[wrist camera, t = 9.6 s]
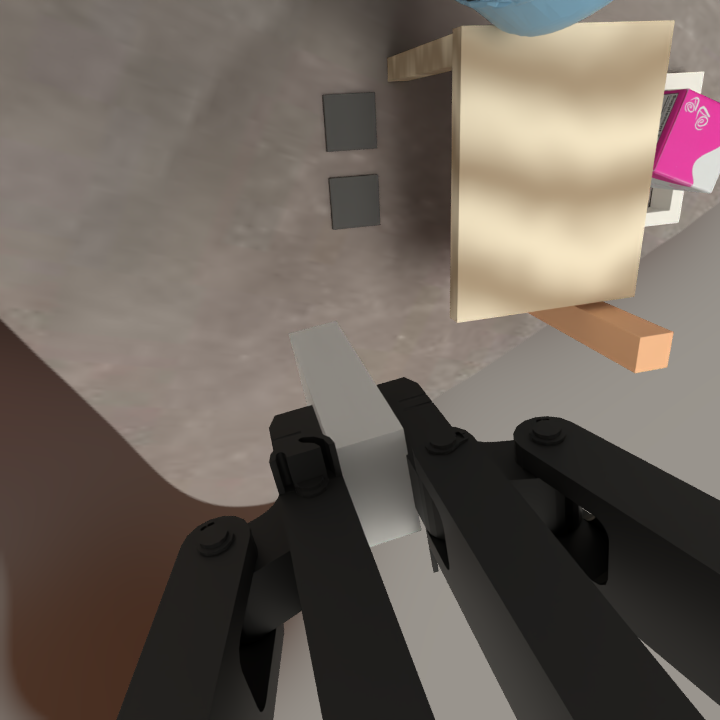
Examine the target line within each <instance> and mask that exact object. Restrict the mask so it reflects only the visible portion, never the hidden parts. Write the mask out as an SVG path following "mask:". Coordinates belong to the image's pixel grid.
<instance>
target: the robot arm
mask: <svg viewBox="0 0 720 720" xmlns="http://www.w3.org/2000/svg"><path fill="white" fill-rule="evenodd" d="M456 1H457V2H459V3H461V4H464V5H466V6H468V7H470V8H473V9H474V10H476V11H477V12H478V13H480V14H481V15H482V16H483V17H485V18H486V19H487V20H488V21H490V22H491V23H492V24H493V25H495V26H496V27H497V28H499V29H500V30H502V31H504V32H506V33H509V34H515V35H519V36H527V37H535V36H541V35H546V34H550V33H553V32H556V31H559V30H562V29H564V28H567V27H569V26H571V25H573V24H575V23H577V22H579V21H581V20H583V19H585V18H586V17H588V16H590V15H592V14H593V13H595V12H596V11H598V10H600V9H601V8H603V7H604V6H606V5H607V4H609V3H610V2H612V1H613V0H456ZM289 337H290V341H291V345H292V349H293V352H294V356H295V360H296V364H297V368H298V371H299V375H300V379H301V383H302V387H303V391H304V394H305V398H306V402H307V407H303V408H300V409H296V410H293V411H289V412H286V413H283V414H279V415H276V416H275V417H274V419H273V421H272V423H271V425H270V427H269V431H270V436H271V440H272V446H273V452H272V453H271V455H270V461H269V463H270V467H271V470H272V473H273V476H274V479H275V483H276V486H277V489H278V492H279V497H278V499H277V500H276V502H275V503H274V505H273V506H272V507H271V508H270V509H269V510H268V511H267V512H265V513H264V514H263V515H261V516H260V517H258V518H256V519H254V520H253V521H251V522H249V523H246V521H245V520H244V519H241V518H239V517H236V516H222V517H218V518H215V519H211V520H209V521H207V522H205V523H203V524H201V525H200V526H198V527H197V528H195V529H194V530H193V531H192V532H191V533H190V534H189V535H188V536H187V537H186V539H185V541H184V542H183V544H182V546H181V548H180V551H179V553H178V556H177V559H176V561H175V564H174V567H173V570H172V572H171V575H170V578H169V580H168V583H167V586H166V588H165V591H164V594H163V596H162V599H161V602H160V604H159V607H158V610H157V613H156V615H155V618H154V621H153V623H152V626H151V629H150V631H149V634H148V637H147V639H146V642H145V645H144V647H143V651H142V653H141V656H140V658H139V661H138V664H137V667H136V669H135V672H134V675H133V677H132V680H131V682H130V685H129V688H128V690H127V693H126V696H125V698H124V701H123V704H122V706H121V710H120V712H119V715H118V717H117V720H273V717H274V709H275V701H276V693H277V685H278V676H279V669H280V661H281V653H282V645H283V636H284V624H283V623H284V622H286V621H287V620H289V619H290V618H292V617H293V616H294V615H296V614H297V613H299V612H300V611H302V614H303V620H304V624H305V630H306V635H307V640H308V645H309V650H310V656H311V661H312V666H313V671H314V677H315V682H316V686H317V692H318V697H319V702H320V707H321V713H322V718H323V720H435V718H434V716H433V713H432V710H431V708H430V705H429V702H428V700H427V697H426V694H425V692H424V689H423V687H422V684H421V681H420V679H419V676H418V674H417V671H416V668H415V665H414V663H413V660H412V658H411V655H410V652H409V650H408V647H407V644H406V642H405V639H404V636H403V634H402V631H401V629H400V626H399V623H398V621H397V618H396V615H395V613H394V610H393V607H392V605H391V602H390V599H389V597H388V594H387V592H386V589H385V586H384V584H383V581H382V578H381V576H380V573H379V570H378V568H377V565H376V562H375V560H374V557H373V554H372V552H371V549H370V547H373V546H376V545H379V544H382V543H385V542H388V541H390V540H394V539H397V538H400V537H402V536H406V535H409V534H412V533H415V532H418V531H421V526H420V520H419V516H420V517H421V519H422V521H423V523H424V525H425V527H426V532H427V538H428V544H429V550H430V555H431V561H432V567H433V571H434V572H437V571H438V565H439V567H440V569H441V571H442V573H443V574H444V576H445V578H446V580H447V582H448V584H449V586H450V588H451V590H452V592H453V594H454V596H455V598H456V600H457V602H458V604H459V606H460V608H461V610H462V612H463V614H464V616H465V618H466V620H467V622H468V624H469V626H470V628H471V630H472V632H473V634H474V635H475V638H476V639H477V641H478V643H479V645H480V647H481V649H482V651H483V653H484V655H485V657H486V659H487V661H488V663H489V665H490V667H491V669H492V671H493V673H494V675H495V677H496V679H497V681H498V683H499V685H500V687H501V689H502V690H503V693H504V695H505V697H506V698H507V700H508V702H509V704H510V706H511V708H512V710H513V712H514V714H515V716H516V718H517V720H705V719H704V718H703V716H702V715H701V714H700V713H699V711H698V710H697V709H696V708H695V707H694V705H693V704H692V703H691V702H690V701H689V699H688V698H687V697H686V696H685V694H684V693H683V692H682V691H681V690H680V688H679V687H678V686H677V685H676V683H675V682H674V681H673V680H672V679H671V677H670V676H669V675H668V674H667V672H666V671H665V670H664V669H663V668H662V666H661V665H660V664H659V663H658V661H657V660H656V659H655V658H654V656H653V655H652V654H651V653H650V652H649V650H648V649H647V648H646V647H645V646H644V644H643V643H642V642H641V641H640V639H641V640H642V641H643V642H644V643H645V644H647V645H648V646H649V647H650V648H652V649H653V650H654V651H655V652H656V653H658V654H659V655H660V656H661V657H662V658H663V659H665V660H666V661H667V662H668V663H669V664H671V665H672V666H673V667H674V668H675V669H677V670H678V671H679V672H680V673H681V674H683V675H684V676H685V677H686V678H687V679H689V680H690V681H691V682H692V683H693V684H695V685H696V686H697V687H698V688H699V689H700V690H702V691H703V692H704V693H705V694H706V695H708V696H709V697H710V698H711V699H712V700H714V701H715V702H716V703H717V704H719V705H720V500H718V499H716V498H714V497H712V496H710V495H708V494H706V493H705V492H702V491H701V490H699V489H697V488H695V487H693V486H691V485H689V484H688V483H686V482H684V481H682V480H680V479H678V478H676V477H674V476H672V475H671V474H669V473H666V472H665V471H663V470H661V469H659V468H657V467H655V466H654V465H652V464H650V463H648V462H646V461H644V460H642V459H640V458H638V457H637V456H635V455H633V454H631V453H629V452H627V451H625V450H623V449H621V448H620V447H617V446H615V445H614V444H612V443H610V442H608V441H606V440H604V439H603V438H601V437H599V436H597V435H595V434H593V433H591V432H589V431H587V430H586V429H584V428H582V427H580V426H578V425H576V424H574V423H572V422H570V421H567V420H565V419H562V418H557V417H549V416H546V417H535V418H532V419H529V420H526V421H524V422H522V423H521V424H520V425H518V426H517V427H516V429H515V431H514V434H513V435H514V440H511V441H500V442H478V441H477V440H476V439H475V438H474V437H473V436H472V435H471V434H470V433H468V432H467V431H466V430H463V429H460V428H457V427H452V426H451V425H450V424H449V422H448V421H447V420H446V419H445V417H444V416H443V415H442V413H441V412H440V411H439V410H438V408H437V407H436V406H435V405H434V403H432V401H431V399H430V398H429V397H428V396H427V395H426V393H425V392H424V390H423V389H422V388H421V387H420V385H419V384H418V383H416V382H414V381H412V380H409V379H407V378H405V377H403V378H399V379H396V380H392V381H389V382H385V383H382V384H378V385H376V384H375V382H374V381H373V379H372V377H371V376H370V374H369V373H368V371H367V369H366V368H365V366H364V365H363V363H362V361H361V360H360V358H359V357H358V355H357V353H356V352H355V350H354V349H353V347H352V345H351V344H350V342H349V341H348V339H347V337H346V336H345V334H344V333H343V331H342V329H341V328H340V326H339V324H338V323H337V321H334V322H330V323H326V324H323V325H319V326H315V327H311V328H308V329H304V330H300V331H296V332H293V333H289ZM582 508H584V509H585V510H586V511H585V510H584V509H582ZM587 511H588V512H589V513H591V514H589V513H588V512H587ZM437 563H438V564H437ZM639 638H640V639H639Z"/></svg>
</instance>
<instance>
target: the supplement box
mask: <svg viewBox="0 0 720 720" xmlns="http://www.w3.org/2000/svg"><path fill="white" fill-rule="evenodd" d="M719 174H720V103H719V102H717V101H715V100H712V99H710V98H708V97H706V96H704V95H702V94H699V93H697V92H695V91H693V90H691V89H688V88H687V89H680V90H672V91H664V97H663V104H662V111H661V118H660V124H659V131H658V138H657V145H656V152H655V158H654V165H653V172H652V179H651V186H650V188H660V189H670V190H680V191H690V192H701V193H711V192H712V190H713V188H714V186H715V183H716V181H717V179H718V176H719Z"/></svg>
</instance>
